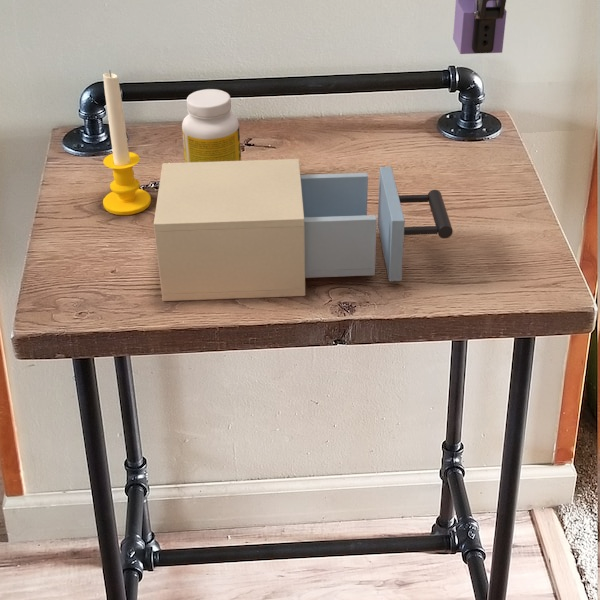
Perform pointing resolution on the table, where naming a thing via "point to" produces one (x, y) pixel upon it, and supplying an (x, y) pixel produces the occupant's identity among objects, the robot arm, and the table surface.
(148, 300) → the table surface
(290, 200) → the drawer cabinet
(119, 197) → the candle
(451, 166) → the table surface
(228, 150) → the pill bottle
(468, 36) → the block
